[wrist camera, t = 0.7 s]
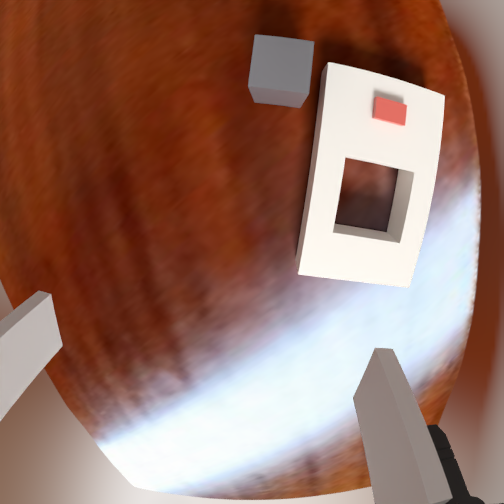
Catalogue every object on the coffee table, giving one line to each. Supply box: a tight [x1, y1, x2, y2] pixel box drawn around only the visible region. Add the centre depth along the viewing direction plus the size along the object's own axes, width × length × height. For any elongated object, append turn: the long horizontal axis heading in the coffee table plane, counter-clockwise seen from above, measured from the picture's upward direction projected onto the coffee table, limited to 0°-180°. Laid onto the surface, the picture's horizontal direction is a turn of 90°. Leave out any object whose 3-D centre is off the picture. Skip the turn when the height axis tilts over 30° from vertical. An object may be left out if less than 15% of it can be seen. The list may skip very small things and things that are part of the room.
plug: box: [248, 35, 314, 108], centre depth 23 cm, size 4×4×8 cm
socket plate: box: [296, 62, 445, 288], centre depth 27 cm, size 20×12×5 cm, turn 173°
